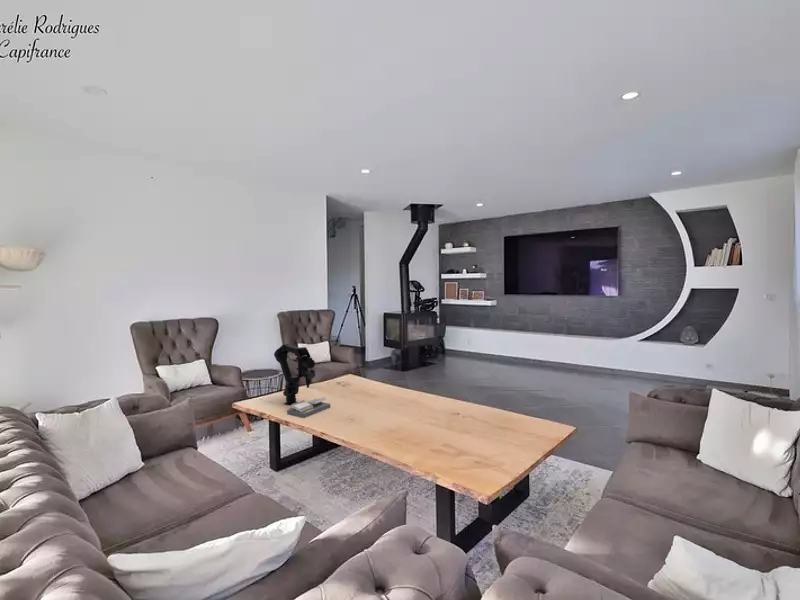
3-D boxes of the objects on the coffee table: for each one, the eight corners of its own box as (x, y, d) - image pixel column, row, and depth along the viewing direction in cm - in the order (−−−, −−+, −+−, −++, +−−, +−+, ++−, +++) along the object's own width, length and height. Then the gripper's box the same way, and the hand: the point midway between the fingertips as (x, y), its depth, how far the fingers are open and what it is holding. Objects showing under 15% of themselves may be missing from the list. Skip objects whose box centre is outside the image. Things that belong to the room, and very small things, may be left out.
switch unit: (287, 414, 258) (286, 408, 258) (314, 404, 278) (313, 399, 278) (304, 418, 250) (303, 412, 250) (330, 407, 270) (330, 402, 270)
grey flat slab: (291, 406, 257) (291, 404, 257) (302, 402, 265) (303, 400, 265) (301, 412, 252) (301, 410, 252) (312, 408, 261) (313, 405, 260)
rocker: (305, 405, 267) (305, 402, 267) (316, 401, 275) (315, 398, 275) (315, 403, 262) (314, 401, 262) (325, 399, 271) (325, 397, 271)
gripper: (300, 370, 258) (301, 394, 259) (320, 365, 274) (321, 387, 275) (288, 368, 264) (289, 392, 265) (308, 363, 280) (309, 385, 281)
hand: (302, 389), depth 271 cm, fingers open, 9 cm apart
